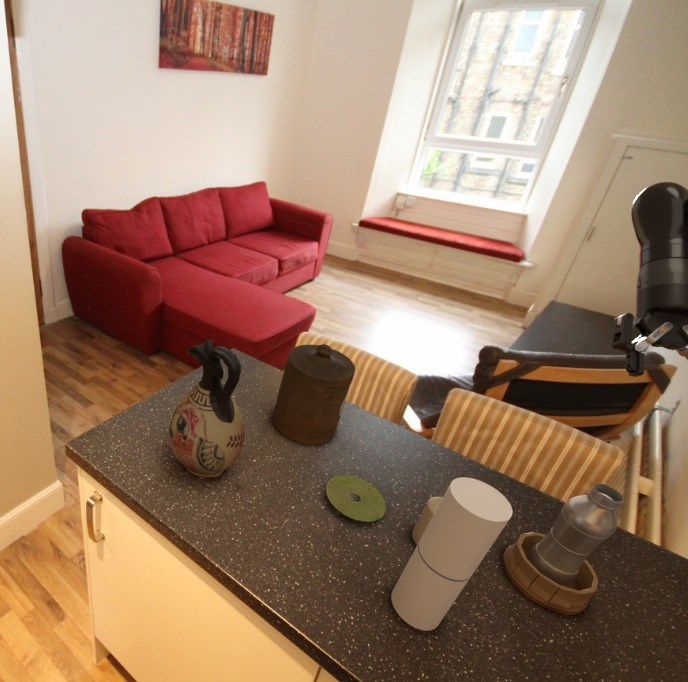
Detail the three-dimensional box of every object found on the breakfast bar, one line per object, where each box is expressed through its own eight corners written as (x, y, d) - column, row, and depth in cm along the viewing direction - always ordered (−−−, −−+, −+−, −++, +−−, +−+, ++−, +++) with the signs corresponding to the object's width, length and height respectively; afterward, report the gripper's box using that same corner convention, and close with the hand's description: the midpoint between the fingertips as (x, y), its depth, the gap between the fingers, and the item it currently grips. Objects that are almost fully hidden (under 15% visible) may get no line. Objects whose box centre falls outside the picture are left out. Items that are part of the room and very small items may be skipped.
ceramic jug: (151, 454, 95) (158, 332, 80) (206, 428, 104) (222, 313, 89) (202, 509, 84) (221, 378, 69) (259, 475, 92) (287, 352, 77)
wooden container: (347, 439, 104) (375, 359, 93) (293, 450, 99) (315, 368, 88) (311, 400, 116) (332, 326, 105) (261, 409, 111) (277, 332, 100)
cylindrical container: (392, 619, 68) (454, 510, 56) (390, 578, 74) (446, 470, 62) (443, 638, 67) (519, 529, 54) (436, 594, 72) (504, 487, 60)
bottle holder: (567, 560, 80) (582, 542, 77) (600, 626, 70) (618, 608, 67) (493, 539, 83) (504, 521, 80) (514, 599, 73) (528, 581, 70)
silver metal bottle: (518, 574, 76) (579, 492, 66) (524, 549, 80) (583, 469, 70) (564, 601, 72) (637, 519, 62) (568, 573, 76) (637, 492, 66)
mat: (358, 476, 94) (360, 470, 93) (396, 520, 85) (399, 513, 84) (312, 487, 90) (314, 480, 89) (347, 534, 81) (349, 527, 80)
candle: (407, 525, 84) (426, 488, 79) (437, 530, 83) (458, 493, 78) (417, 551, 79) (437, 514, 74) (449, 557, 79) (472, 519, 74)
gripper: (636, 274, 74) (634, 366, 70) (742, 290, 71) (746, 387, 67) (602, 292, 81) (599, 376, 78) (697, 307, 78) (699, 396, 74)
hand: (667, 381), depth 72 cm, fingers open, 8 cm apart
